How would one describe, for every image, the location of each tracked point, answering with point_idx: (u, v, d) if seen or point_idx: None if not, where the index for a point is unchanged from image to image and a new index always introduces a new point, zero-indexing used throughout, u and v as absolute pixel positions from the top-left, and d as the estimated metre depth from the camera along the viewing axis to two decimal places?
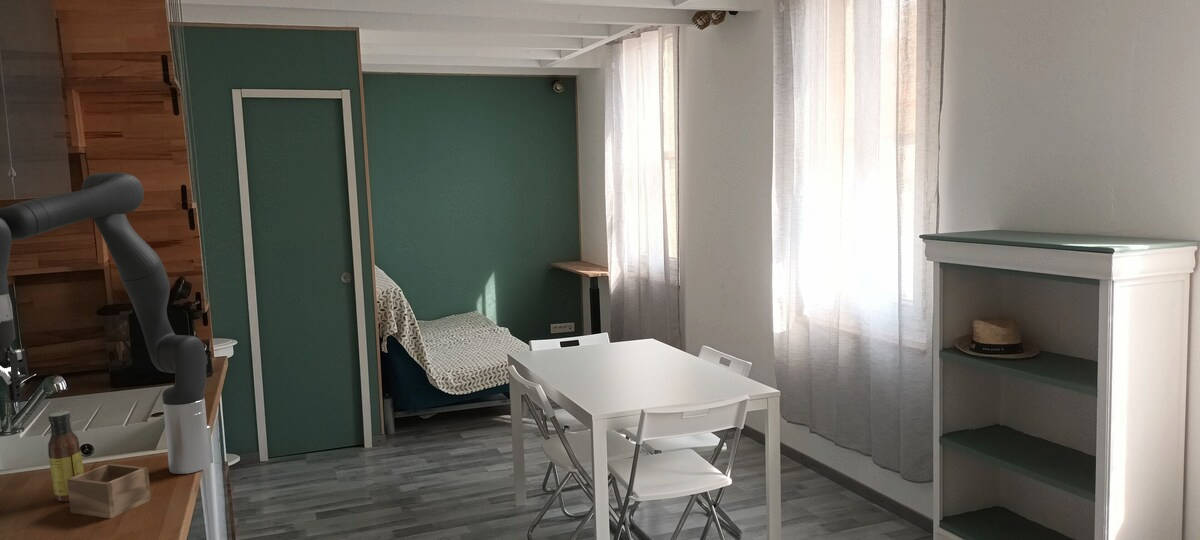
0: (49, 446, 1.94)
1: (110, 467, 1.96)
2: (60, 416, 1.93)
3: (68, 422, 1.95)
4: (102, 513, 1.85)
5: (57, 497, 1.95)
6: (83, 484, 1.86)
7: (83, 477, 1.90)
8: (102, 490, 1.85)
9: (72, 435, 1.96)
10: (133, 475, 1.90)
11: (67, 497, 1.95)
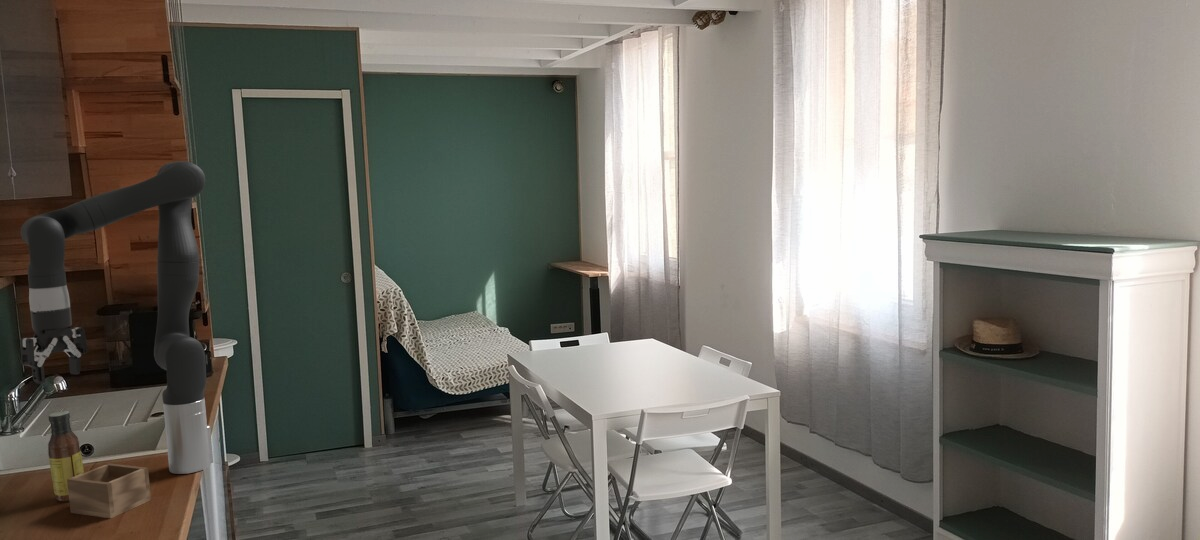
0: (49, 446, 1.94)
1: (110, 467, 1.96)
2: (60, 416, 1.93)
3: (68, 422, 1.95)
4: (102, 513, 1.85)
5: (57, 497, 1.95)
6: (83, 484, 1.86)
7: (83, 477, 1.90)
8: (102, 490, 1.85)
9: (72, 435, 1.96)
10: (133, 475, 1.90)
11: (67, 497, 1.95)
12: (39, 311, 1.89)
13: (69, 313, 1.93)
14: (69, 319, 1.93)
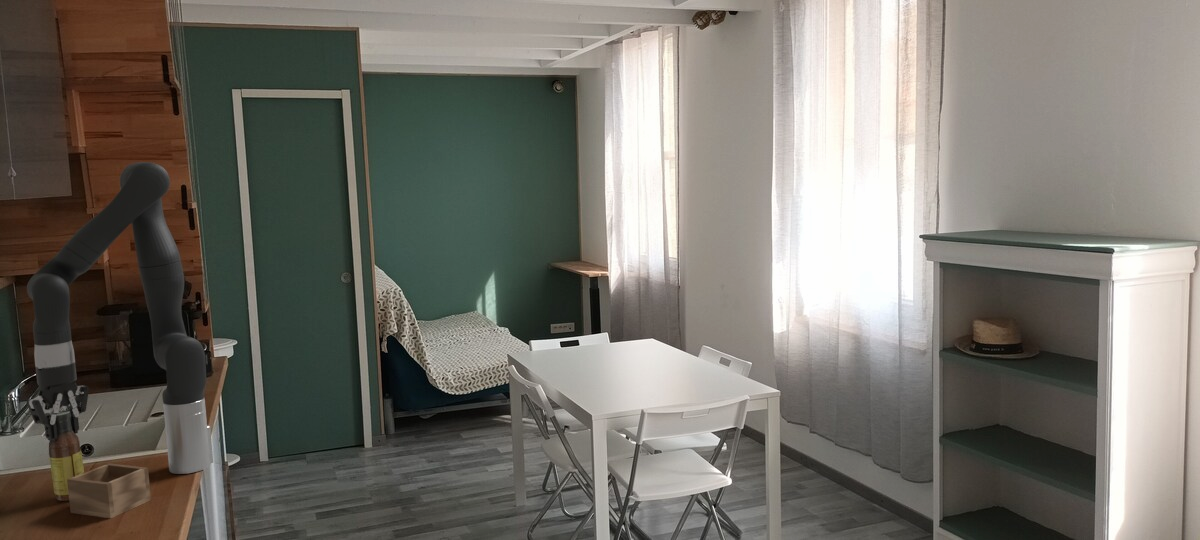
0: (50, 445, 1.94)
1: (110, 467, 1.96)
2: (61, 415, 1.94)
3: (69, 421, 1.96)
4: (102, 513, 1.85)
5: (57, 497, 1.95)
6: (83, 484, 1.86)
7: (83, 477, 1.90)
8: (102, 490, 1.85)
9: (73, 435, 1.96)
10: (133, 475, 1.90)
11: (67, 497, 1.95)
12: (44, 367, 1.90)
13: (74, 368, 1.95)
14: (73, 374, 1.94)
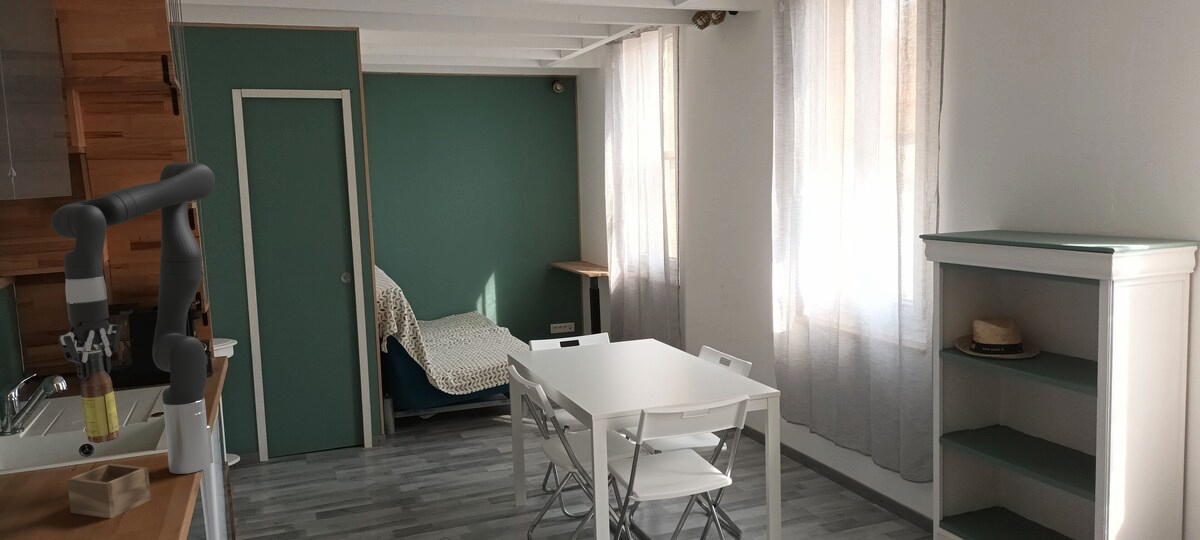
0: (81, 385, 1.86)
1: (110, 467, 1.96)
2: (93, 353, 1.86)
3: (101, 360, 1.88)
4: (102, 513, 1.85)
5: (89, 438, 1.88)
6: (83, 484, 1.86)
7: (83, 477, 1.90)
8: (102, 490, 1.85)
9: (105, 374, 1.89)
10: (133, 475, 1.90)
11: (100, 438, 1.88)
12: (76, 303, 1.83)
13: (106, 305, 1.87)
14: (106, 311, 1.87)
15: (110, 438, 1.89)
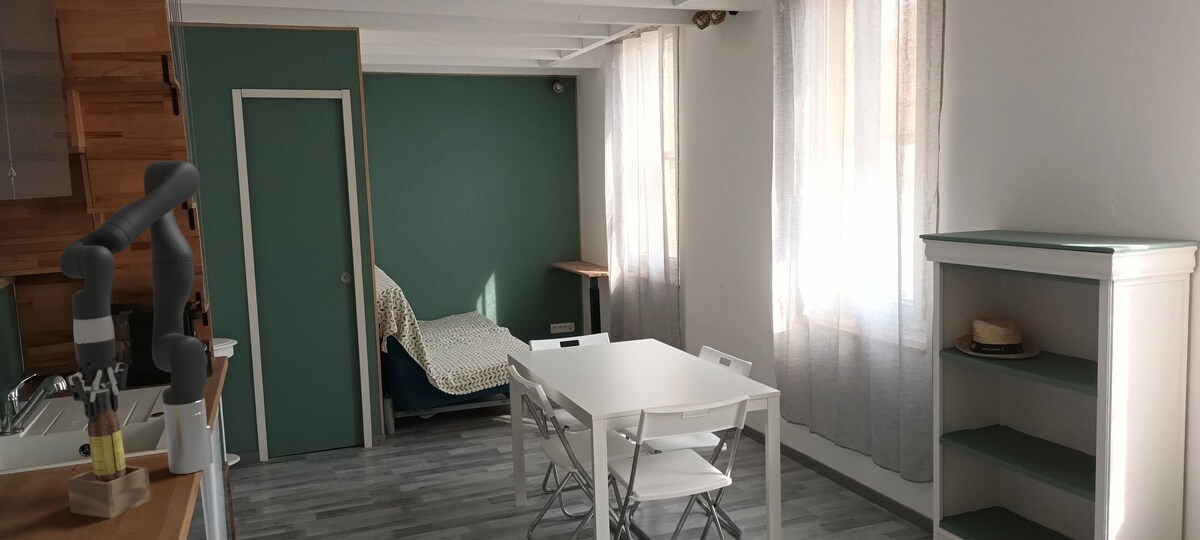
0: (89, 424, 1.87)
1: None
2: (101, 393, 1.87)
3: (108, 399, 1.89)
4: (102, 513, 1.85)
5: (97, 477, 1.89)
6: (83, 484, 1.86)
7: (83, 477, 1.90)
8: (102, 490, 1.85)
9: (112, 413, 1.90)
10: (133, 475, 1.90)
11: (107, 477, 1.89)
12: (84, 343, 1.84)
13: (114, 344, 1.88)
14: (113, 351, 1.88)
15: (117, 476, 1.90)
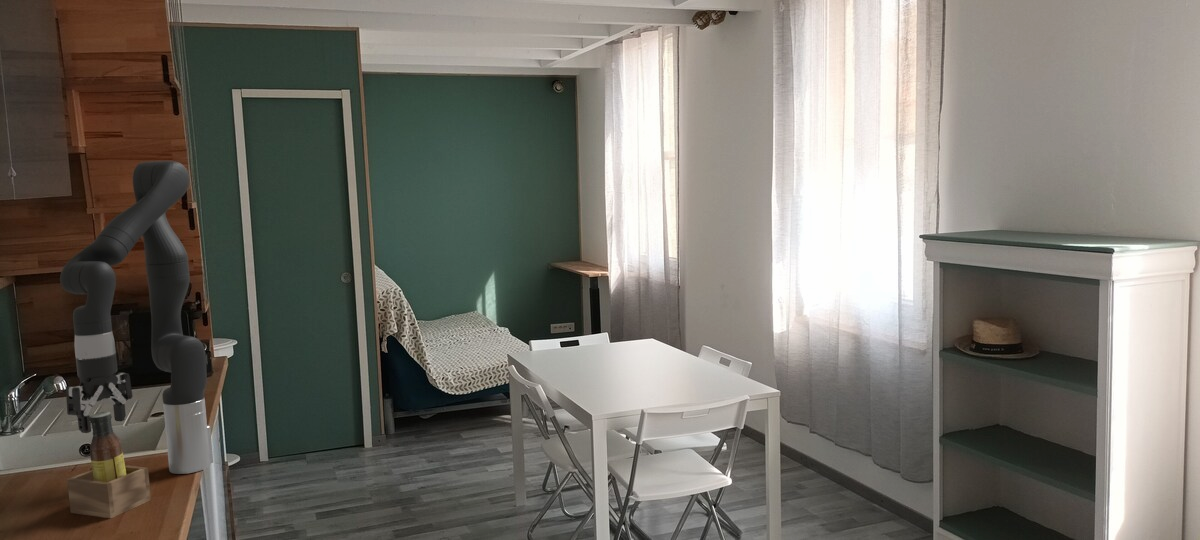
0: (91, 448, 1.88)
1: None
2: (101, 417, 1.88)
3: (110, 423, 1.90)
4: (102, 513, 1.85)
5: None
6: (83, 484, 1.86)
7: (83, 477, 1.90)
8: (102, 490, 1.85)
9: (114, 437, 1.90)
10: (133, 475, 1.90)
11: None
12: (85, 359, 1.84)
13: (115, 360, 1.88)
14: (114, 366, 1.88)
15: None
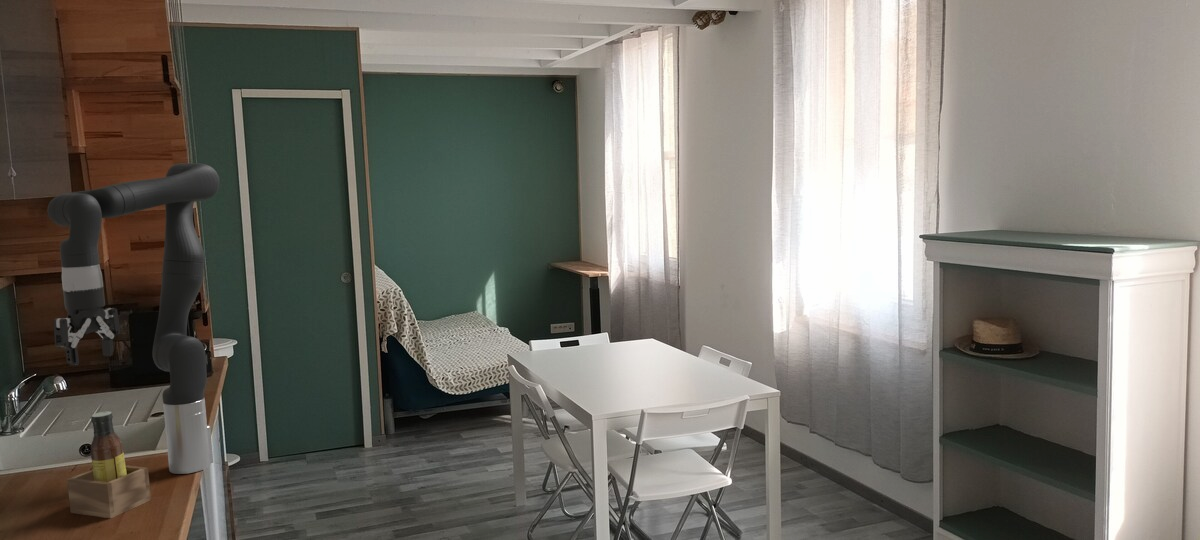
0: (92, 448, 1.88)
1: None
2: (103, 417, 1.88)
3: (111, 423, 1.90)
4: (102, 513, 1.85)
5: None
6: (83, 484, 1.86)
7: (83, 477, 1.90)
8: (102, 490, 1.85)
9: (115, 436, 1.90)
10: (133, 475, 1.90)
11: None
12: (72, 291, 1.84)
13: (102, 293, 1.89)
14: (102, 299, 1.88)
15: None
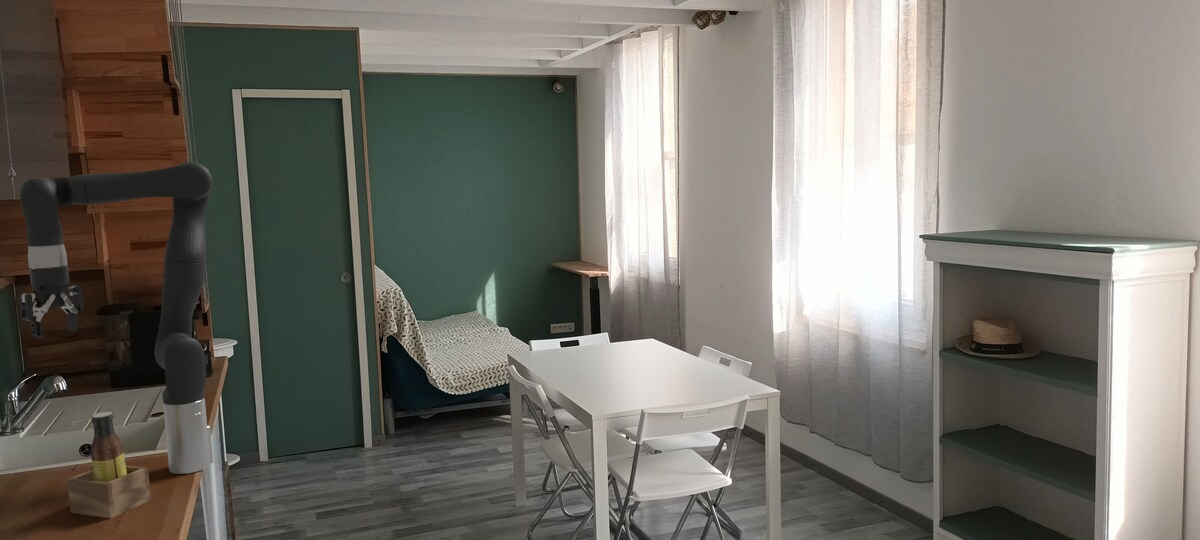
0: (92, 448, 1.88)
1: None
2: (103, 417, 1.88)
3: (111, 423, 1.90)
4: (102, 513, 1.85)
5: None
6: (83, 484, 1.86)
7: (83, 477, 1.90)
8: (102, 490, 1.85)
9: (115, 437, 1.90)
10: (133, 475, 1.90)
11: None
12: (37, 268, 1.97)
13: (66, 271, 2.02)
14: (66, 277, 2.01)
15: None
